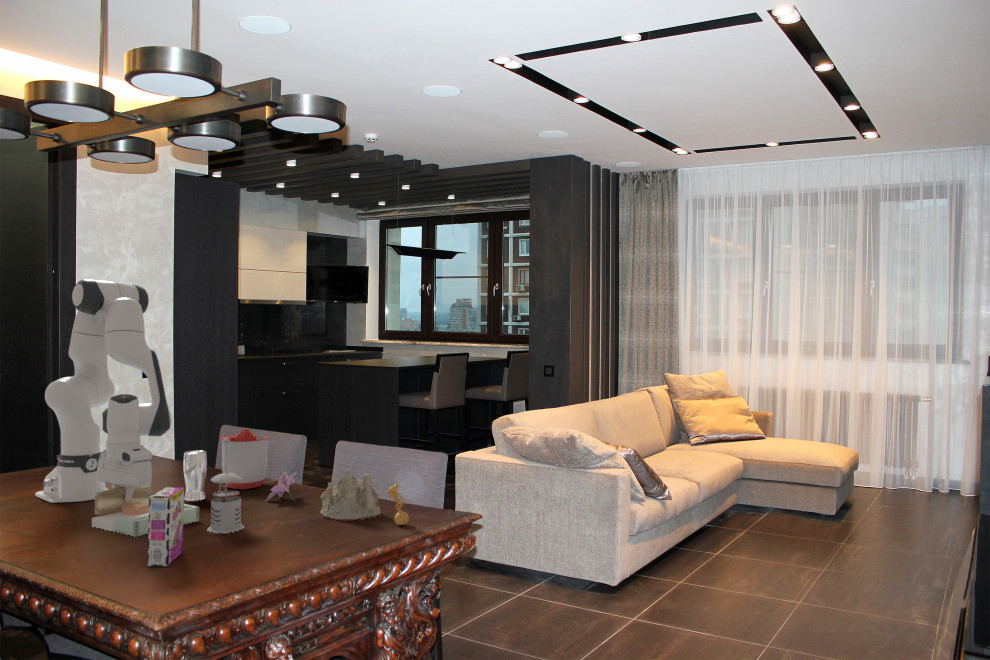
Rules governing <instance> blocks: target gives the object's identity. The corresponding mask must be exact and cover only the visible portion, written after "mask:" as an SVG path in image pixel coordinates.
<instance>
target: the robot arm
mask: <svg viewBox="0 0 990 660" xmlns="http://www.w3.org/2000/svg"><path fill="white" fill-rule="evenodd" d="M149 299H150V298H149V294H148V292H147V289H145V288H144V287H142V286H140V285H136V284H129V283H125V282H121V281H116V280H101V279H100V280H98V279H96V280H95V279H93V278H87V279H80V280H78V281H77V282H76V284H75V285H74V286H73V289H72V293H71V302H72V305H73V307H74V308H75V309H76V310H77V313H76V316H75V318H74V321H73V327H72V331H71V335H70V343H69V347H68V357H69V358H70V359H71V360H72V362H73V367H74V375H72V376H64V377H61V378H58V379H56V380H54V381H52V382H50V383H49V384H48V386H47V387H46V389H45V392H44V399H45V402H46V403H45V404H47V406H48V407H49V408H50V409H51V410H53V412H54V414H55V416H56V419H57V421H58V425H59V429H60V454H57V455H56V460H57V463H56V467H55V468H53V469H52V471H50V472H49V473H48V474H47V475H46V476H45V478H44V480H43V490H39V491H37V492H35V494H34V496H35V497H37V498H39V499H42V500H44V501H46V502H49V503H51V504H56V503H74V502H85V501H92V500H93V501H94V500H95V492H99V491H104V490H109V488H107V486H106V484H111V489H114V488H119V487H124V486H125V489H126V490H127V491H126V494H125V495H123V500H124V501H127V502H128V501H131V500H132V494H133V492H134V490H135V488H145V487H149V486H150V484H151V485H152V479H153V478H152V476H153V475H152V474H153V472H152V471H153V469H152V468H153V467H152V462H151V461H150V460H152V458H153V454H152V452H151V451H150V450H149V449H148V448H146V447H144V445H142V443H141V442H142V441H141V436H142V437H145V436H148V437H162V436H163V435H164V434H166V433H167V432H168V431H169V430H170V429H171V426H172V421H173V420H172V413H171V410H170V408H169V405H168V402H167V398H166V397H167V395H166V391H165V385H164V381H163V380H164V379H163V375H162V371H161V367H160V362H159V361H160V360H159V358H158V355H157V353H156V352H155V350H153V349H150V347H149V345H148V343H147V341H146V338H145V337H146V336H145V334H146V332H145V331H146V329H145V320H144V314H145V312H146V311H147V310H148V307H149V301H150V300H149ZM108 357H109V358H111V359H112V360H114V361H115V362H118V363H119V364H122V365H125V366H128V367H132V368H133V369H137V370H139V371H141V372H143V373H144V374H145V376H146V377H147V383H148V385H149V386H148V387H149V392H150V397H151V402H147V403H146V402H145V403H140V401H139V398H138V396H136V395H134V394H128V393H127V394H126V393H124V394H123V393H121V394H117V395H115V384H114V382H113V381H112V380H111V378H110V375H109V374H110V373H109V368H108ZM106 403H107V408H106V409H105V410H104V411H102V414H101V415H102V416H101V417H102V431H103V432H104V433H105V434H107V438H106V442H105V443H106V446H105V447H106V448H105V449H103V450H102V451H101V427H100V426H99V425H98V424H97V423H96V422H95V420H94V417H93V414H92V409H93V408H98V407H101V406H103V405H105V404H106Z"/></svg>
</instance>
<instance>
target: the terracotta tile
mask: <svg viewBox="0 0 990 660" xmlns="http://www.w3.org/2000/svg"><path fill="white" fill-rule="evenodd" d="M121 511H122V513H123V514H128V515H132V516H133V515H138V514H142V513H146V512H149V504H142V503H134V504H129V505H124V506H122V510H121Z"/></svg>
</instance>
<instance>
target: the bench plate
mask: <svg viewBox="0 0 990 660" xmlns="http://www.w3.org/2000/svg"><path fill="white" fill-rule="evenodd" d="M115 517H122V518H126V519H131V520H135V521H138V520H142V519H147V518H149V512H146V513H142V514H138V515H133V516H132V515H128V514H123V513H122V510H120V511H116V512H111V513H107V514H103V515H97V516H96V517H92V518H91V528H94V527H96V528H95V529H98V528H101V529H100V530H102V529H104V530H103V531H107V530H108V532H111V531H113V532H112V533H115V532H114V520H115Z"/></svg>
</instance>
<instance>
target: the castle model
mask: <svg viewBox="0 0 990 660" xmlns="http://www.w3.org/2000/svg"><path fill="white" fill-rule="evenodd" d="M327 484H328V485H327V487H326V489H325V490H324V491H323V493H322V494H320V499H321V504H322V507H321V509H320V514H321V513H322V514H323V515H324V516H326V517H330V518H335V519H357V518H362V517H367V516H368V517H369V516H375V515H378V514H380V513H381V508H380V506H379V500H378V497H379V494H377V492H376V490H375V489H374V488H373V487H372V483H371V475H370V474H369V473H364V474H363V477H362V479H359V478H357V477H356V475H354V474H353V472H351V469H348V468H346V470H345V474H344V476H343V477H340V478H339V481H338V483H337V485H333V483H332V482H328V483H327ZM381 514H382V513H381Z"/></svg>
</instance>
